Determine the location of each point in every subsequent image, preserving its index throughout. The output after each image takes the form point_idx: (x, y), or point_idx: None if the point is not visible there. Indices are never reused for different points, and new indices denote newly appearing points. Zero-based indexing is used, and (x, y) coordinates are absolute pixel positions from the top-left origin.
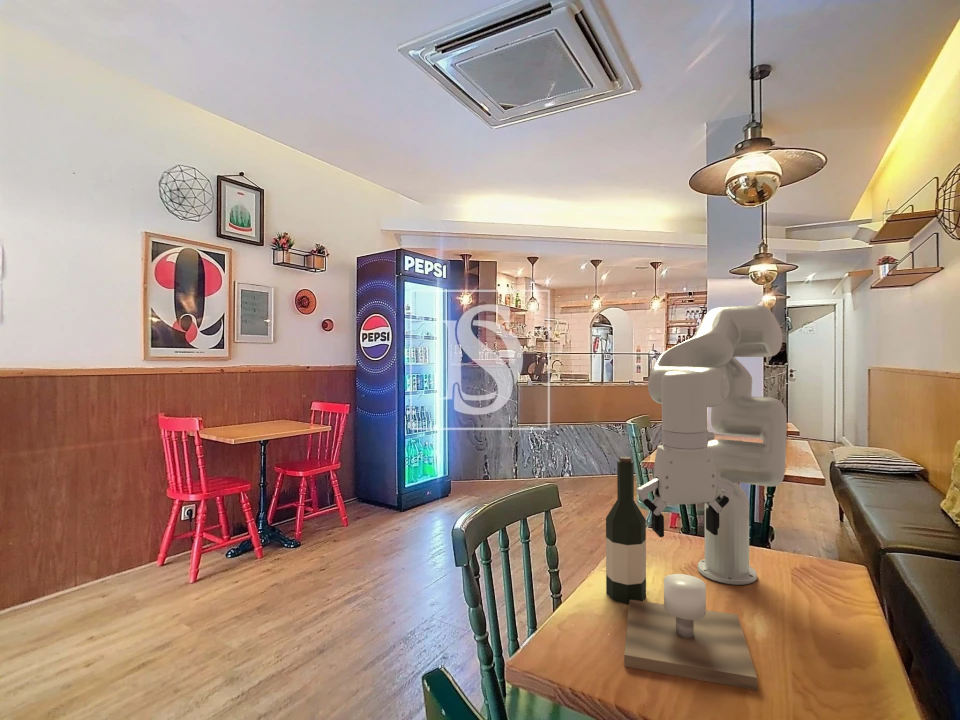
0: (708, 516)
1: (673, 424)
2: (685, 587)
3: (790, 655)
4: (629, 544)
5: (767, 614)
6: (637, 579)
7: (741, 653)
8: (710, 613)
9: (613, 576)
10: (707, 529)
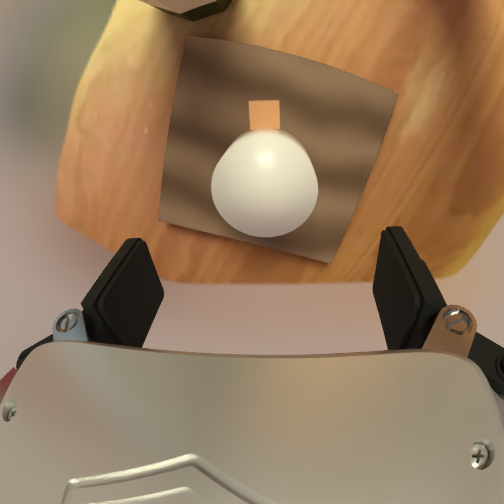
0: (397, 302)
1: None
2: (256, 219)
3: (420, 184)
4: None
5: (453, 70)
6: (202, 1)
7: (340, 213)
8: (348, 84)
9: (147, 3)
10: (381, 242)
